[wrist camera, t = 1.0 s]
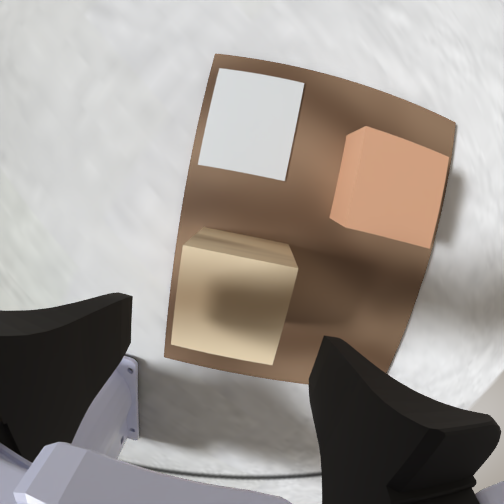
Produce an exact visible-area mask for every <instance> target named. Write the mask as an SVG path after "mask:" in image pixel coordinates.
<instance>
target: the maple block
mask: <svg viewBox="0 0 504 504" xmlns="http://www.w3.org/2000/svg"><path fill="white" fill-rule="evenodd" d="M297 272H298V266H297V264H296V261H295V259H294V256H293V254H292V251H291V249H290V246H289V244H286V243H281V242H276V241H271V240H266V239H261V238H256V237H251V236H247V235H242V234H237V233H232V232H227V231H222V230H217V229H212V228H207V227H204V228H202V229H201V230H200V231H199V232H198V233H196V234H195V235H194V236H193V237H192V238H191V239H189V240H188V241H187V242H186V243H185V244H184V245H183V248H182V255H181V262H180V270H179V277H178V285H177V293H176V301H175V310H174V319H173V328H172V338H171V345H175V346H179V347H184V348H188V349H192V350H196V351H201V352H205V353H210V354H215V355H220V356H224V357H229V358H234V359H240V360H245V361H251V362H256V363H262V364H268V365H273V361H274V358H275V354H276V351H277V347H278V344H279V340H280V337H281V333H282V329H283V326H284V322H285V318H286V315H287V311H288V307H289V303H290V299H291V296H292V292H293V288H294V284H295V280H296V276H297Z"/></svg>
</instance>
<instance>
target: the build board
mask: <svg viewBox="0 0 504 504" xmlns="http://www.w3.org/2000/svg"><path fill="white" fill-rule="evenodd" d="M455 124H456V123H455V122H453V121H451V120H449V119H447V118H445V117H443V116H441V115H439V114H436V113H434V112H432V111H430V110H428V109H425V108H423V107H421V106H418V105H416V104H414V103H411V102H409V101H406V100H404V99H401V98H398V97H396V96H393V95H391V94H388V93H385V92H382V91H379V90H377V89H374V88H371V87H368V86H365V85H362V84H359V83H355V82H352V81H349V80H346V79H342V78H339V77H335V76H332V75H328V74H324V73H320V72H316V71H312V70H308V69H304V68H300V67H295V66H290V65H286V64H281V63H276V62H270V61H265V60H259V59H253V58H246V57H239V56H231V55H223V54H215V56H214V60H213V64H212V67H211V71H210V75H209V79H208V83H207V87H206V91H205V95H204V100H203V104H202V108H201V113H200V117H199V122H198V126H197V131H196V135H195V140H194V145H193V150H192V155H191V160H190V165H189V170H188V176H187V181H186V187H185V192H184V198H183V204H182V210H181V216H180V223H179V229H178V236H177V243H176V250H175V257H174V264H173V272H172V280H171V289H170V297H169V307H168V316H167V327H166V338H165V350H164V357H166V358H170V359H173V360H178V361H182V362H186V363H190V364H194V365H199V366H203V367H208V368H212V369H217V370H222V371H227V372H232V373H238V374H243V375H249V376H254V377H260V378H267V379H273V380H280V381H287V382H294V383H302V384H309V376H310V374H311V371H312V368H313V365H314V363H315V360H316V357H317V354H318V351H319V348H320V345H321V342H322V340H323V337H324V336H331V337H338V338H341V339H342V340H344V341H345V342H347V343H348V344H349V345H350V346H352V347H353V348H354V349H355V350H357V351H358V352H359V353H360V354H361V355H363V356H364V357H365V358H366V359H368V360H369V361H370V362H371V363H373V364H374V365H375V366H377V367H378V368H379V369H381V370H382V371H383V372H385V373H387V370H388V368H389V366H390V364H391V362H392V359H393V357H394V355H395V353H396V350H397V348H398V345H399V343H400V341H401V338H402V336H403V333H404V331H405V328H406V326H407V323H408V321H409V318H410V315H411V313H412V310H413V307H414V304H415V302H416V299H417V296H418V293H419V290H420V287H421V284H422V281H423V278H424V275H425V271H426V268H427V265H428V261H429V258H430V255H431V251H432V247H433V244H434V240H435V236H436V232H437V228H438V224H439V220H440V216H441V211H442V207H443V202H444V197H445V192H446V187H447V181H448V176H449V170H450V164H451V157H452V150H453V142H454V134H455ZM365 126H368V127H371V128H374V129H377V130H380V131H383V132H386V133H389V134H392V135H394V136H397V137H400V138H403V139H405V140H408V141H411V142H413V143H416V144H419V145H421V146H424V147H426V148H429V149H431V150H433V151H436V152H438V153H441V154H443V155H445V156H448V157H449V161H448V168H447V174H446V179H445V185H444V190H443V195H442V200H441V205H440V209H439V214H438V218H437V222H436V227H435V231H434V234H433V238H432V242H431V246H430V249H429V248H425V247H421V246H417V245H414V244H410V243H406V242H402V241H398V240H394V239H390V238H387V237H383V236H379V235H375V234H371V233H366V232H362V231H358V230H354V229H350V228H346V227H344V226H342V225H340V224H339V223H337V222H335V221H334V220H332V219H330V218H329V217H330V213H331V209H332V204H333V200H334V195H335V191H336V186H337V181H338V177H339V172H340V167H341V162H342V157H343V152H344V147H345V141H346V136H347V135H348V134H350V133H352V132H354V131H356V130H359V129H361V128H363V127H365ZM204 227H207V228H212V229H217V230H222V231H227V232H232V233H237V234H242V235H247V236H251V237H256V238H261V239H266V240H271V241H276V242H281V243H286V244H289V246H290V249H291V251H292V254H293V256H294V259H295V261H296V264H297V266H298V272H297V276H296V280H295V284H294V288H293V292H292V296H291V299H290V303H289V307H288V311H287V315H286V318H285V322H284V326H283V329H282V333H281V337H280V340H279V344H278V347H277V351H276V354H275V358H274V361H273V365H268V364H262V363H256V362H251V361H245V360H240V359H234V358H229V357H224V356H220V355H215V354H210V353H205V352H201V351H196V350H192V349H188V348H184V347H179V346H175V345H171V338H172V328H173V319H174V310H175V301H176V293H177V285H178V277H179V270H180V262H181V255H182V248H183V245H184V244H185V243H186V242H187V241H188V240H189V239H191V238H192V237H193V236H194V235H195V234H196V233H198V232H199V231H200V230H201V229H202V228H204Z"/></svg>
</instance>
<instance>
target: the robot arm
mask: <svg viewBox="0 0 504 504" xmlns="http://www.w3.org/2000/svg"><path fill="white" fill-rule="evenodd" d="M132 297H133V296H130V295H126V294H122V293H111V294H106V295H102V296H98V297H95V298H91V299H87V300H84V301H80V302H76V303H71V304H67V305H62V306H58V307H53V308H46V309H38V310H26V311H0V504H292V503H290V502H289V501H287V500H286V499H284V498H282V497H279V496H274V495H269V494H264V493H260V492H256V491H251V490H245V489H237V488H230V487H224V486H218V485H212V484H207V483H202V482H197V481H192V480H187V479H183V478H179V477H175V476H171V475H167V474H163V473H159V472H156V471H152V470H149V469H145V468H142V467H139V466H136V465H133V464H130V463H127V462H124V461H121V460H118V459H117V458H118V456H119V454H120V452H121V450H122V448H123V446H124V444H125V442H126V439H127V438H129V439H132V440H138V438H139V418H138V363H137V361H136V360H135V359H133V358H130V357H127V356H124V355H125V353H126V351H127V349H128V347H129V345H130V343H131V317H132ZM129 368H131V369H132V370H133V371H131V370H130V369H129ZM309 398H310V405H311V410H312V414H313V419H314V424H315V428H316V433H317V438H318V443H319V448H320V455H321V469H322V504H504V481H502V482H499V483H497V484H494V485H492V486H489V487H487V488H484V489H482V490H480V491H479V492H478V493H476V494H474V491H473V490H472V487H474V486H475V485H476V480H475V478H474V476H473V475H474V474H475V472H476V471H477V470H478V469H479V468H480V467H481V466H482V464H483V463H484V462H485V461H486V460H487V458H488V457H489V456H490V455H491V453H492V452H493V451H494V449H495V448H496V446H497V444H498V442H499V439H500V435H501V430H500V427H499V426H498V424H497V423H496V422H495V420H494V419H493V418H492V417H491V416H490V415H488V414H482V413H477V412H472V411H468V410H463V409H459V408H456V407H453V406H450V405H447V404H444V403H441V402H438V401H436V400H433V399H431V398H429V397H427V396H424V395H422V394H420V393H418V392H416V391H414V390H412V389H410V388H408V387H407V386H405V385H403V384H402V383H400V382H398V381H397V380H395V379H393V378H392V377H390V376H389V375H388V374H386V373H385V372H383V371H382V370H381V369H379V368H378V367H377V366H375V365H374V364H373V363H371V362H370V361H369V360H368V359H366V358H365V357H364V356H363V355H361V354H360V353H359V352H358V351H357V350H355V349H354V348H353V347H352V346H350V345H349V344H348V343H347V342H345V341H344V340H342V339H341V338H338V337H331V336H324V337H323V340H322V342H321V345H320V348H319V351H318V354H317V357H316V360H315V363H314V365H313V368H312V371H311V374H310V376H309Z"/></svg>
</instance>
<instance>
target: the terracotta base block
mask: <svg viewBox="0 0 504 504" xmlns="http://www.w3.org/2000/svg"><path fill="white" fill-rule="evenodd" d="M448 161H449V157H448V156H445V155H443V154H441V153H438V152H436V151H433V150H431V149H429V148H426V147H424V146H421V145H419V144H416V143H413V142H411V141H408V140H405V139H403V138H400V137H397V136H394V135H392V134H389V133H386V132H383V131H380V130H377V129H374V128H371V127H368V126H365V127H363V128H361V129H359V130H356V131H354V132H352V133H350V134H348V135H347V136H346V141H345V147H344V152H343V157H342V162H341V167H340V172H339V177H338V181H337V186H336V191H335V195H334V200H333V204H332V209H331V213H330V217H329V218H330V219H332V220H334V221H335V222H337V223H339V224H340V225H342V226H344V227H346V228H350V229H354V230H358V231H362V232H366V233H371V234H375V235H379V236H383V237H387V238H390V239H394V240H398V241H402V242H406V243H410V244H414V245H417V246H421V247H425V248H429V249H430V246H431V242H432V238H433V234H434V231H435V227H436V222H437V218H438V214H439V209H440V205H441V200H442V195H443V190H444V185H445V179H446V174H447V168H448Z"/></svg>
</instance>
